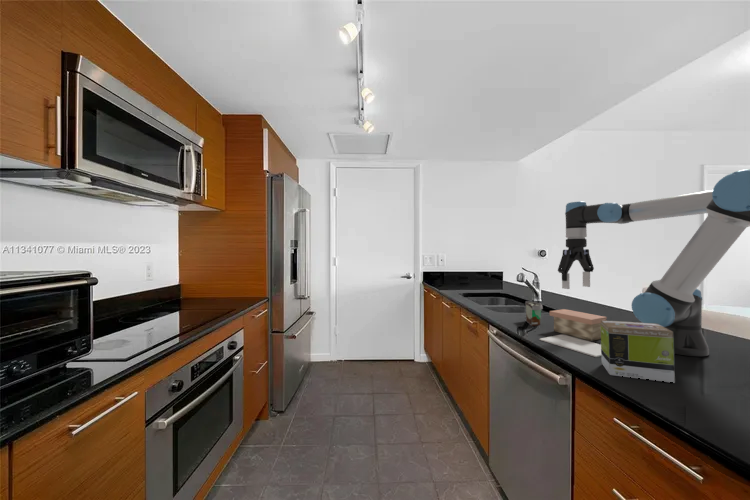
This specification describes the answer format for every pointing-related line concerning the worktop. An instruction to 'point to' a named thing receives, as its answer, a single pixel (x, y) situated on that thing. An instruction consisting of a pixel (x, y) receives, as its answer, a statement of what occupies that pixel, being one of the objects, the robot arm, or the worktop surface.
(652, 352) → the tea box
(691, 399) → the worktop surface
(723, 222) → the robot arm
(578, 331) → the birch box
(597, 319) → the peach flat tile
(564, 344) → the grey mat
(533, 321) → the food container
